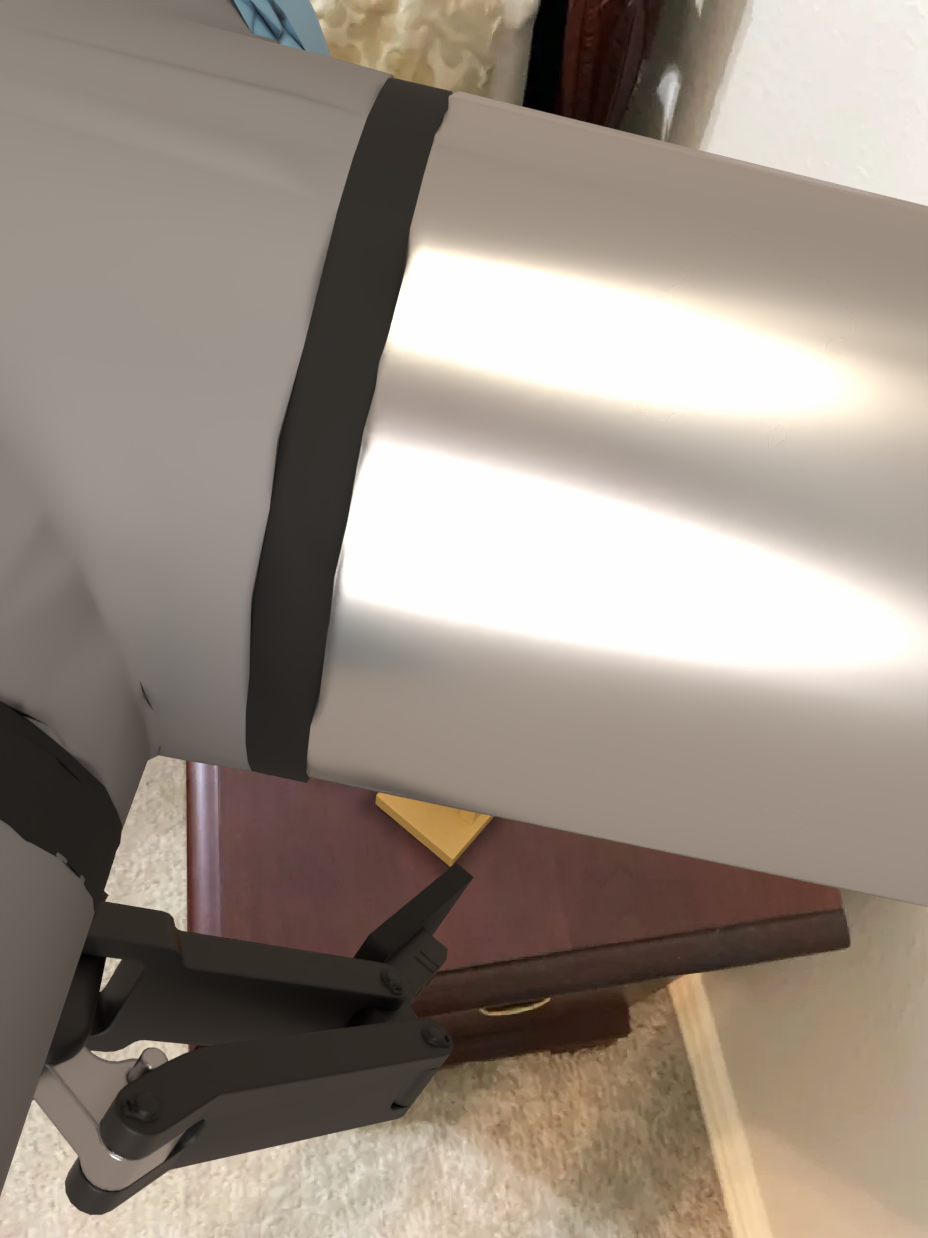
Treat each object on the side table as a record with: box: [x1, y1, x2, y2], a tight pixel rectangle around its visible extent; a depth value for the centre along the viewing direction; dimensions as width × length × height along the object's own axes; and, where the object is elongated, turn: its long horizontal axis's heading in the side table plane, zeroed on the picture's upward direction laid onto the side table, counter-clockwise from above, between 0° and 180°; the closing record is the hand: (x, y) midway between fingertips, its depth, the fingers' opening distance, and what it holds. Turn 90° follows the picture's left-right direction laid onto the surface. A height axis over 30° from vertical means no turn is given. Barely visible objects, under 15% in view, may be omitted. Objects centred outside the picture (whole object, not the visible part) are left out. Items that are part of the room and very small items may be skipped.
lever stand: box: [375, 792, 495, 868], centre depth 57 cm, size 9×6×21 cm, turn 141°
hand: (296, 773), depth 37 cm, fingers open, 13 cm apart
